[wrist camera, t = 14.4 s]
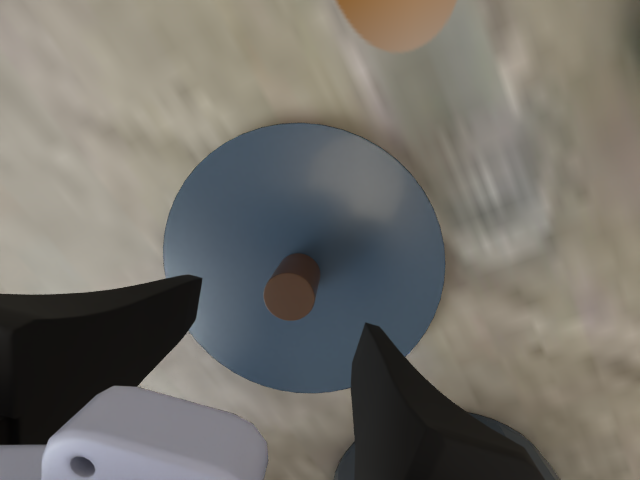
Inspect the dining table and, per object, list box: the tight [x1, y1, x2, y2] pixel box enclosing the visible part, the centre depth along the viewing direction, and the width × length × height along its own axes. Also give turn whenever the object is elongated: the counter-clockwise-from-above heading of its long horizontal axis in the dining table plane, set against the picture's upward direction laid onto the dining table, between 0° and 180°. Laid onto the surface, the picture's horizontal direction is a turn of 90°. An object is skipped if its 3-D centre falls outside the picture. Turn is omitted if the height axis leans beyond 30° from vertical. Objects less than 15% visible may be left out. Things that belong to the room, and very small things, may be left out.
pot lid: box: [163, 123, 445, 393], centre depth 17 cm, size 17×17×4 cm
